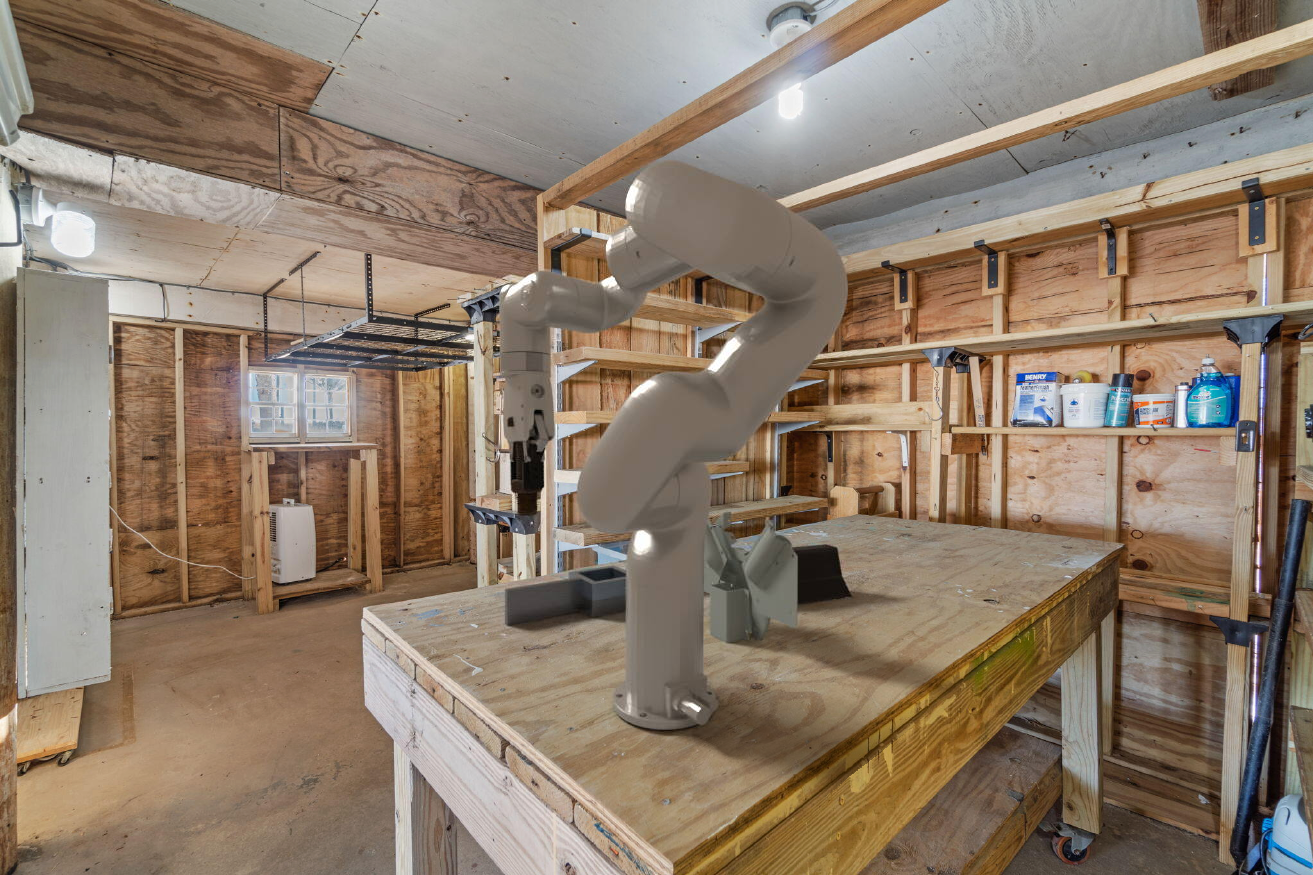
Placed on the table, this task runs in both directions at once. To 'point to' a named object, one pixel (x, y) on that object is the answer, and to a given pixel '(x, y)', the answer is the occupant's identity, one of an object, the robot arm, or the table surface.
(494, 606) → the table surface
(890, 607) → the table surface
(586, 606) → the grey square socket holder
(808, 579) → the barrier
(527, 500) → the bolt
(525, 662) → the table surface
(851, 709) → the table surface
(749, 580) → the bracket
